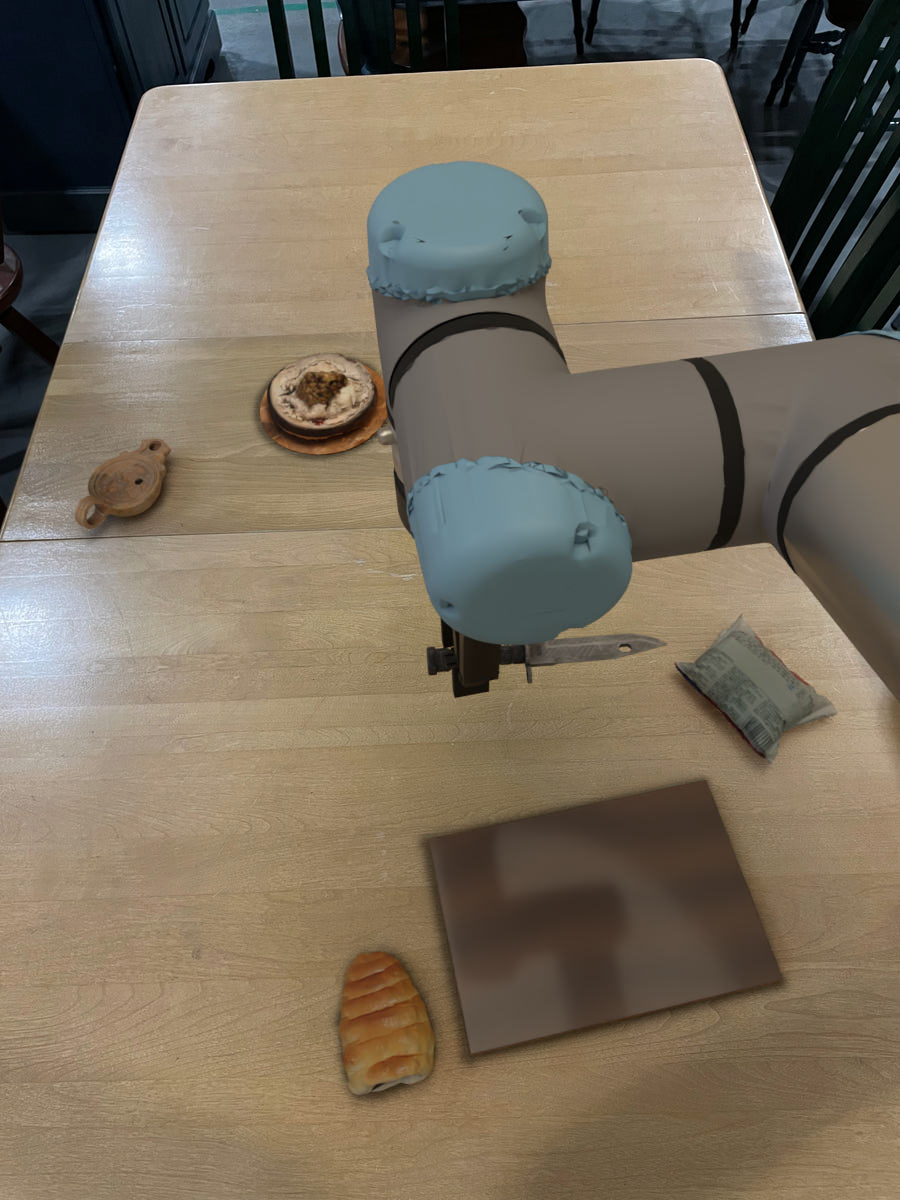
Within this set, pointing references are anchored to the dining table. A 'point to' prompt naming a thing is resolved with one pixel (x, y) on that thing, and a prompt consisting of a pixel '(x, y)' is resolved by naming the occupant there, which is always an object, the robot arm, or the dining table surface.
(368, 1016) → the pastry
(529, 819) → the cutting board
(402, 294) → the robot arm
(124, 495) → the oil lamp
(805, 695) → the packaged food
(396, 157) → the dining table surface
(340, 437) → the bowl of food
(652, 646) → the knife
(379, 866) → the dining table surface
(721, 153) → the dining table surface
